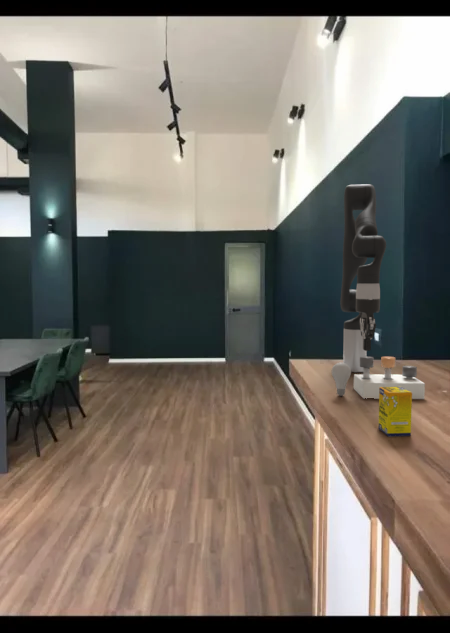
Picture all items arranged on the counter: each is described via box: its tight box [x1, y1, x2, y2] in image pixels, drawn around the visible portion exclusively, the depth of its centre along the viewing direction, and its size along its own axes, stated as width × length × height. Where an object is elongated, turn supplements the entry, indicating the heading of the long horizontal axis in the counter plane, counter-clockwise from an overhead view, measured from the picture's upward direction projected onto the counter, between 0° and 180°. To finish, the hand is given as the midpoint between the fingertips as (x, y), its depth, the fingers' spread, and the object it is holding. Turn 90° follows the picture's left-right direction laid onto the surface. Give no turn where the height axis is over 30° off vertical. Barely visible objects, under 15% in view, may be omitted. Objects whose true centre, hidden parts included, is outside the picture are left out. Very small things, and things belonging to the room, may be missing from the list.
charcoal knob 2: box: [401, 365, 418, 380], centre depth 161 cm, size 4×4×8 cm
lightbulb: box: [331, 361, 352, 397], centre depth 158 cm, size 6×6×11 cm
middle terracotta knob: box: [380, 356, 396, 380], centre depth 161 cm, size 4×4×8 cm
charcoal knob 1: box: [360, 355, 375, 379], centre depth 161 cm, size 4×4×8 cm
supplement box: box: [378, 387, 413, 438], centre depth 121 cm, size 6×6×11 cm
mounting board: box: [353, 373, 426, 400], centre depth 161 cm, size 14×19×5 cm
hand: (366, 350), depth 161 cm, fingers closed
